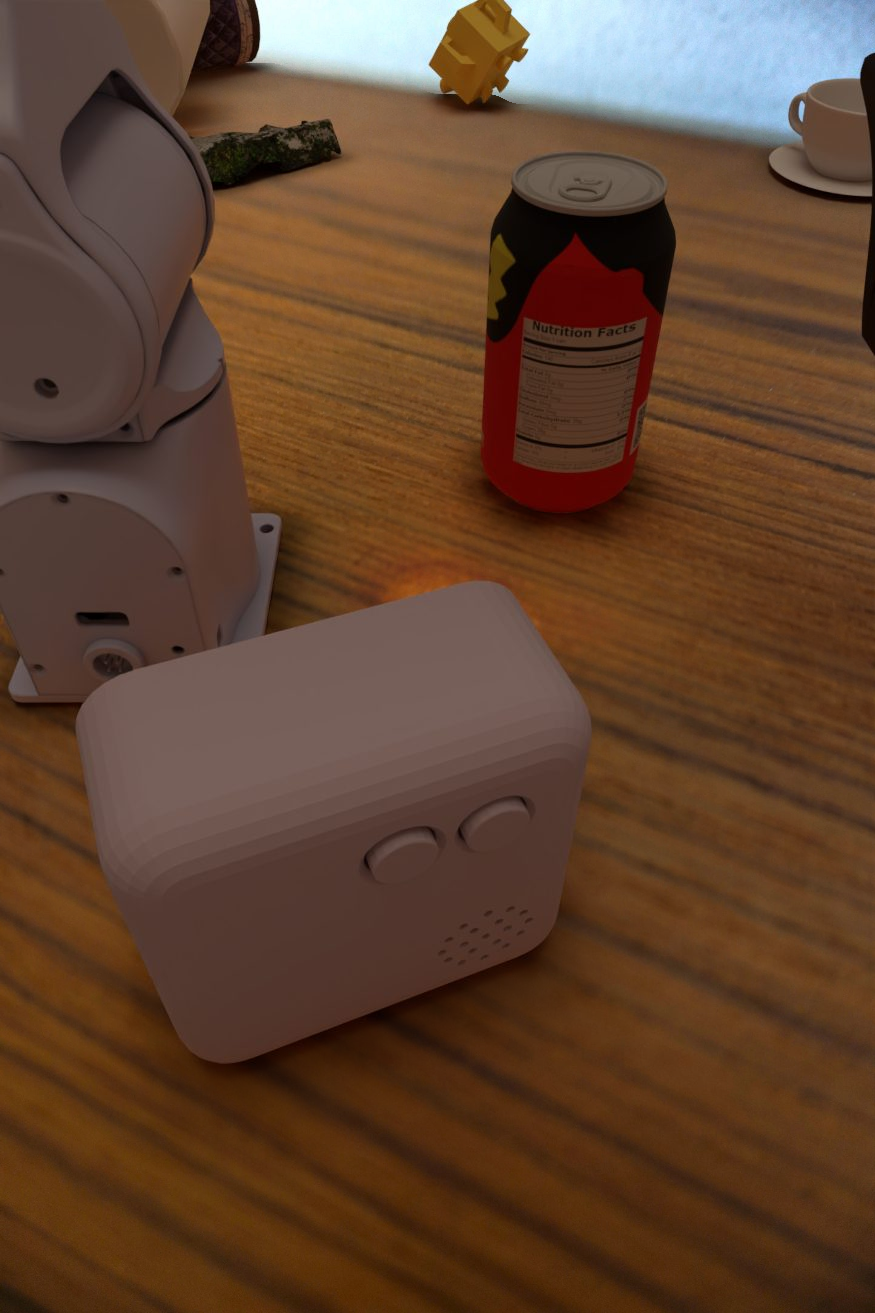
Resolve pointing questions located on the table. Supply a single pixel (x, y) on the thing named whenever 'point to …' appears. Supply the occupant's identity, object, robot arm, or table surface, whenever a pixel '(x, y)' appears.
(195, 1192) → the table surface
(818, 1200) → the table surface
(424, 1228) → the table surface
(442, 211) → the table surface
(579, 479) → the beverage can
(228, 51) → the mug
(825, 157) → the teacup
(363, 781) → the electronic device
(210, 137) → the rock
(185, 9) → the cup
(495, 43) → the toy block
